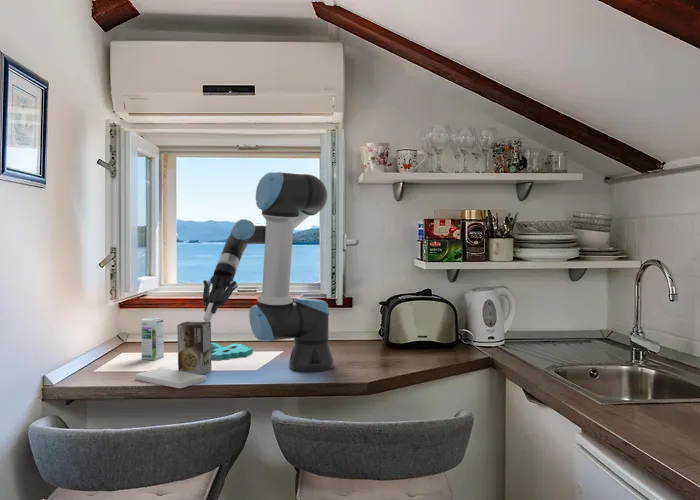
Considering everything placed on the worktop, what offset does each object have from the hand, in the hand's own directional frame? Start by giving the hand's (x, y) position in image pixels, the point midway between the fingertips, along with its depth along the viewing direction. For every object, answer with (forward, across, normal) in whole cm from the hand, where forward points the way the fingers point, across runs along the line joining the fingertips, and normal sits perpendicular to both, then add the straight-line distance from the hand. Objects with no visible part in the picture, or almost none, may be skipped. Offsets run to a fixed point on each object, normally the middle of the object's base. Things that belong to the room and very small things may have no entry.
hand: (206, 320), depth 185 cm
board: (+25, +2, +4) cm, 25 cm away
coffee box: (+18, 0, -4) cm, 18 cm away
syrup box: (+7, +24, -15) cm, 29 cm away
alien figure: (-1, +1, -24) cm, 24 cm away
